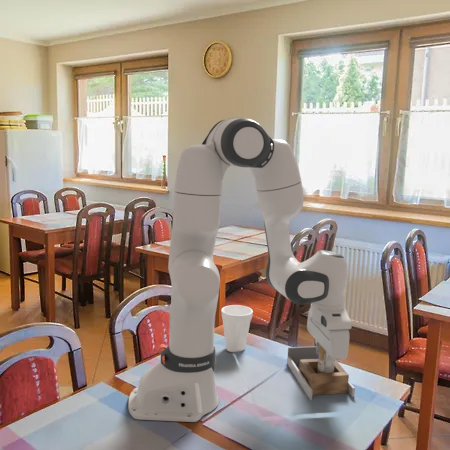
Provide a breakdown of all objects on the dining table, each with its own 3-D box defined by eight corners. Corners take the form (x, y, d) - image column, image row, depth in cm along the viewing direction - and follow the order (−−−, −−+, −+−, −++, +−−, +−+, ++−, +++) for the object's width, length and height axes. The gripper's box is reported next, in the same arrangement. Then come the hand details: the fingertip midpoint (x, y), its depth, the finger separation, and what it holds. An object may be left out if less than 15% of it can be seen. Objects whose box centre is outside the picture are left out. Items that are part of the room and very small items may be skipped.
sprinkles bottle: (314, 376, 133) (317, 330, 130) (331, 376, 133) (334, 330, 131) (318, 384, 128) (321, 337, 126) (335, 384, 128) (339, 337, 126)
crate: (310, 394, 125) (312, 377, 124) (298, 376, 135) (299, 359, 134) (347, 392, 126) (348, 375, 126) (332, 374, 136) (334, 358, 135)
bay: (309, 402, 123) (311, 380, 122) (287, 366, 142) (288, 347, 141) (354, 399, 125) (355, 378, 124) (325, 364, 144) (327, 345, 143)
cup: (255, 355, 149) (256, 315, 147) (223, 357, 147) (224, 316, 145) (246, 342, 159) (248, 304, 156) (217, 344, 156) (218, 305, 154)
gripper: (303, 298, 137) (300, 344, 139) (330, 326, 117) (327, 379, 119) (324, 298, 138) (321, 343, 140) (355, 325, 118) (351, 377, 120)
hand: (324, 360), depth 129 cm, fingers closed on sprinkles bottle, 4 cm apart
